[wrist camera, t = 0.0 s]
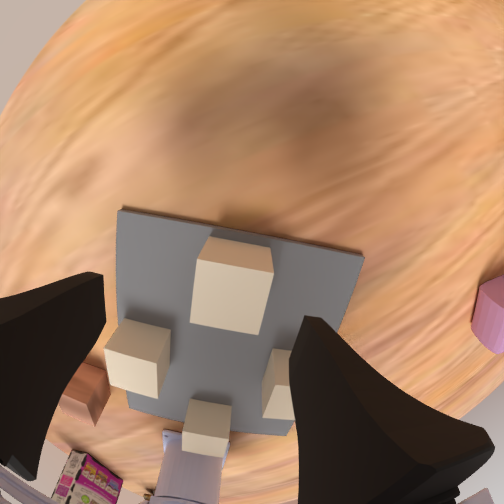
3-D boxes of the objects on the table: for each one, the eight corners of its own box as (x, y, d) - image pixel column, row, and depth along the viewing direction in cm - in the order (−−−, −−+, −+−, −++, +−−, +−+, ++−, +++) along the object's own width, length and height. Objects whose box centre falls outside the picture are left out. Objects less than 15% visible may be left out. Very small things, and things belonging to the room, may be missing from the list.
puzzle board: (285, 431, 26) (288, 465, 22) (130, 404, 25) (118, 435, 21) (361, 254, 19) (388, 283, 15) (121, 209, 18) (87, 226, 14)
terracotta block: (110, 394, 25) (94, 426, 20) (80, 382, 25) (62, 412, 20) (105, 370, 24) (86, 404, 19) (73, 358, 23) (52, 389, 19)
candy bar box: (70, 448, 32) (42, 513, 17) (87, 452, 32) (59, 522, 16) (107, 478, 36) (88, 537, 20) (124, 481, 35) (106, 544, 20)
